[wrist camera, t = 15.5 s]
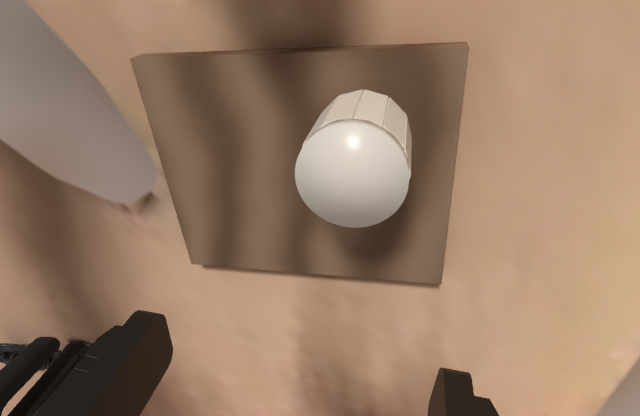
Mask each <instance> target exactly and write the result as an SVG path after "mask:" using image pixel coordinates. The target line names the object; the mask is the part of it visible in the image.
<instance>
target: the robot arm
mask: <svg viewBox="0 0 640 416" xmlns="http://www.w3.org/2000/svg"><path fill="white" fill-rule="evenodd" d="M172 354H173V346H172V342H171V338H170V334H169V330H168V326H167V322H166V318H165V316H164V315H162V314H158V313H152V312H147V311H142V310H138V311H136V312H134V313H133V314H132V315H131V317H130V318H129V319H128V320H127V322H126V323H125V324H124V325H123V326H118V325H116V326H114V327H113V328H111V329H110V330H109V331H107V332H106V333H104V334H103V335H102V336H100V337H99V338H98V339H97V340H96V341H95V342H94V344H93V345H92V346H91V347H90V348H89V350H88V351H87V352H86V353H85V356H84V357H82V358H81V359H80V361H79V362H78V363H77V364H76V365H75V367H74V370H71V371H70V373H69V374H68V375H67V376H66V378H65V379H64V380H63V381H62V382H61V384H60V385H59V386H58V387H57V388H56V390H55V391H54V392H53V393H52V394H51V396H50V397H49V398H48V399H47V401H46V402H45V403H44V404H43V405H42V407H41V408H40V409H39V410H38V411H37V413H36V414H35V415H34V416H140V414H141V412H142V411H143V409H144V407H145V406H146V404H147V402H148V401H149V399H150V397H151V396H152V394H153V392H154V390H155V389H156V387H157V385H158V384H159V382H160V380H161V379H162V377H163V375H164V374H165V372H166V370H167V369H168V367H169V364H170V362H171V359H172ZM428 416H499V415H498V413H497V411H496V409H495V408H494V406H493V404H492V402H491V401H490V399H487V398H482V397H477V396H474V393H473V385H472V379H471V375H470V373H468V372H462V371H457V370H452V369H446V368H440V369H439V372H438V375H437V378H436V381H435V385H434V388H433V391H432V394H431V397H430V401H429V408H428Z"/></svg>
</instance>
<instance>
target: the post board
mask: <svg viewBox="0 0 640 416" xmlns="http://www.w3.org/2000/svg"><path fill="white" fill-rule="evenodd" d="M468 51H469V46H468V44H467V43H466V42H457V43H430V44H403V45H376V46H348V47H321V48H294V49H267V50H240V51H212V52H185V53H158V54H141V55H138V56H136V57H133V58H130V60H131V64H132V67H133V70H134V74H135V77H136V80H137V84H138V87H139V90H140V94H141V97H142V100H143V104H144V107H145V110H146V114H147V117H148V120H149V124H150V127H151V130H152V134H153V137H154V140H155V144H156V147H157V150H158V154H159V157H160V160H161V164H162V167H163V170H164V174H165V177H166V180H167V184H168V187H169V190H170V194H171V197H172V200H173V204H174V207H175V210H176V214H177V217H178V220H179V224H180V227H181V230H182V234H183V237H184V240H185V244H186V247H187V250H188V254H189V257H190V260H191V264H199V265H211V266H223V267H235V268H247V269H260V270H272V271H284V272H296V273H308V274H320V275H332V276H345V277H357V278H369V279H381V280H393V281H405V282H417V283H430V284H441V282H442V273H443V265H444V256H445V248H446V239H447V231H448V222H449V213H450V205H451V196H452V188H453V179H454V171H455V162H456V154H457V145H458V137H459V128H460V119H461V111H462V102H463V94H464V85H465V77H466V68H467V60H468ZM362 89H363V92H364V90H365V89H366V90H369V91H373V92H376V93H380V94H383V95H387V96H388V98H389V97H390V98H391V99H392V100H393V101H394V102H395V103H396V104H397V105H398V106H399V107H400V108H401V109H402V110H403V111H404V112H405V113H406V116H407V117H408V122H409V127H410V132H411V137H412V152H411V177H410V179H409V186H408V191H407V194H406V197H405V199H404V201H403V203H402V204H401V206H400V207H399V209H398V210H397V211H396V212H395V213H394V214H393V215H391V216H390V217H389V218H387V219H386V220H384V221H382V222H380V223H378V224H375V225H372V226H367V227H360V228H350V227H343V226H339V225H336V224H333V223H330V222H328V221H326V220H324V219H322V218H321V217H319V216H318V215H316V214H315V213H314V212H313V211H312V210H311V209H310V208H309V207H308V206H307V205H306V204H305V202H304V201H303V199H302V198H301V196H300V194H299V191H298V189H297V186H296V181H295V165H296V161H297V158H298V155H299V153H300V151H301V150H302V146H303V143H304V141H305V139H306V138H307V136H308V134H309V133H310V131H311V129H312V128H313V126H314V124H315V123H316V121H317V119H318V118H319V116H320V114H321V113H322V112H323V111H324V110H325V109H326V108H327V107H328V106H329V105H330V104H331V103H332V102H333V100H334V99H335V98H336V97H337V96H338V97H339V95H342V94H346V93H350V92H354V91H358V90H362Z"/></svg>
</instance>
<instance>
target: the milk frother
mask: <svg viewBox="0 0 640 416" xmlns="http://www.w3.org/2000/svg"><path fill="white" fill-rule="evenodd" d="M91 346H92V345H91V344H87V343H79V342H75V343H70V344H68V345H66V346H65V347H64V349H63V352H62V354H61V353H59V352H56V351H57V350H58V349H59V347H60V341H59V340H57V339H56V338H53V337H39V338H37V339H35V340H34V341H33V342H32V343H30V344H29V345H28V346H25V345H19V344H8V343H7V344H0V362H2V363H5V364H6V366H5V367H4V368H3V369H1V370H0V416H1V414H2V411H3V408H4V407H5V406H6V404H7V403H8V401H9V400H10V399H11V398H12V397H13V396H14V395H15V394H16V393H17V392H18V391H19V390H20V389H21V388H22V387H23V386H24V385H25V383H26V382H27V381H28V380H29V379H30V378H31V377H32V376H33V375H34V374H35V373H36V372H37V371H38V370H43V369H47V368H48V370H47V371H46V372H45V373H44V374H43V375H42V377H41V378H40V379H39V380H38V381H37V382H36V383H35V385H34V386H33V387H32V388H31V389H30V390H29V391H28V392H27V394H26V395H25V396H24V397H23V398H22V399H21V401H20V402H19V403H18V404H17V405H16V406H15V407H14V409H13V410H12V411H11V412H10V413H9V414H8V416H34V415H35V414H36V413H37V411H38V410H39V409H40V408H41V407H42V405H43V404H44V403H45V402H46V401H47V399H48V398H49V397H50V396H51V394H52V393H53V392H54V391H55V390H56V388H57V387H58V386H59V385H60V384H61V382H62V381H63V380H64V379H65V378H66V376H67V375H68V374H69V373H70V371H71V370H74V367H75V365H76V364H77V363H78V362H79V361H80V359H81V358H82V357H84V356H85V353H86V352H87V351H88V350H89V348H90V347H91ZM51 357H57V358H56V359H55V361H54V362H53V364H52V365H51V363H52V358H51ZM50 365H51V366H50Z"/></svg>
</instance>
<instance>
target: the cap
mask: <svg viewBox="0 0 640 416" xmlns="http://www.w3.org/2000/svg"><path fill="white" fill-rule="evenodd" d="M411 152H412V137H411V132H410V127H409V122H408V117H407V116H406V113H405V112H404V111H403V110H402V109H401V108H400V107H399V106H398V105H397V104H396V103H395V102H394V101H393V100H392V99H391V98H390V97H389V98H388V96H387V95H383V94H380V93H376V92H373V91H369V90H366V89H365V90H364V92H363V89H362V90H358V91H354V92H350V93H346V94H342V95H339V97H338V96H337V97H336V98H335V99H334V100H333V102H332V103H331V104H330V105H329V106H328V107H327V108H326V109H325V110H324V111H323V112H322V113H321V114H320V116H319V118H318V119H317V121H316V123H315V124H314V126H313V128H312V129H311V131H310V133H309V134H308V136H307V138H306V139H305V141H304V143H303V146H302V150H301V151H300V153H299V155H298V158H297V161H296V165H295V181H296V186H297V189H298V191H299V194H300V196H301V198H302V199H303V201H304V202H305V204H306V205H307V206H308V207H309V208H310V209H311V210H312V211H313V212H314V213H315V214H316V215H318V216H319V217H321V218H322V219H324V220H326V221H328V222H330V223H333V224H336V225H339V226H343V227H350V228H360V227H367V226H372V225H375V224H378V223H380V222H382V221H384V220H386V219H387V218H389V217H390V216H391V215H393V214H394V213H395V212H396V211H397V210H398V209H399V207H400V206H401V204H402V203H403V201H404V199H405V197H406V194H407V191H408V186H409V179H410V177H411Z"/></svg>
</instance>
